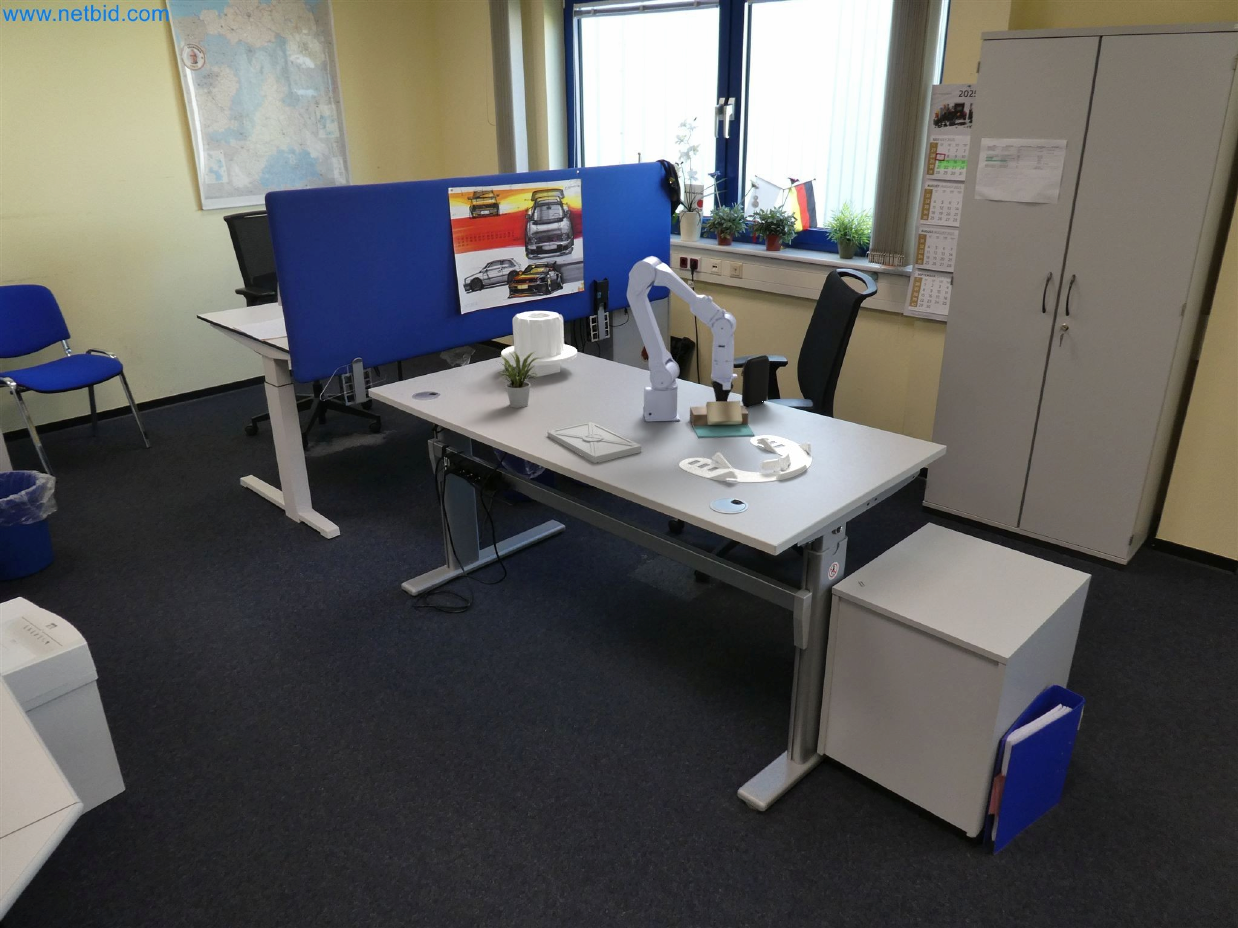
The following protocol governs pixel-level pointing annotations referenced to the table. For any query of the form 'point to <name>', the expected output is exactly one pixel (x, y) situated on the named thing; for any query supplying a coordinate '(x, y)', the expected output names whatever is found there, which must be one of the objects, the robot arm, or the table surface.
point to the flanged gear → (539, 342)
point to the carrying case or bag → (755, 381)
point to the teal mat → (723, 431)
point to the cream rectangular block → (724, 412)
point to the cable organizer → (789, 455)
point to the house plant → (518, 381)
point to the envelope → (594, 442)
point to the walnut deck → (700, 416)
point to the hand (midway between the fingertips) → (721, 407)
